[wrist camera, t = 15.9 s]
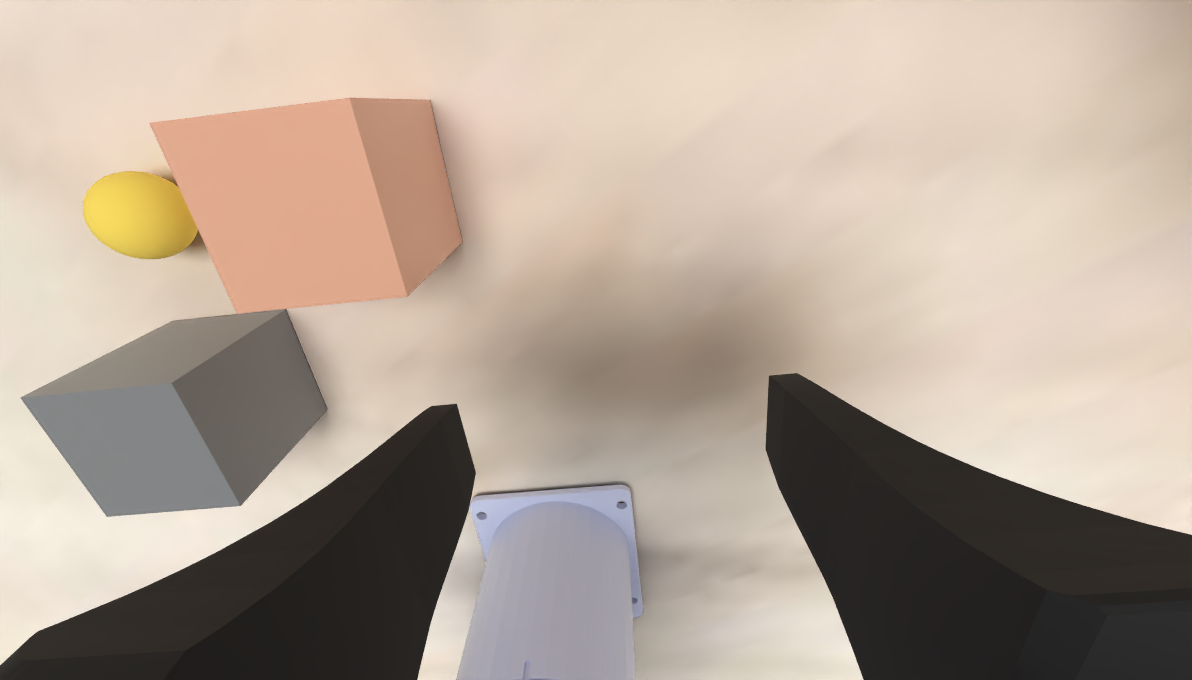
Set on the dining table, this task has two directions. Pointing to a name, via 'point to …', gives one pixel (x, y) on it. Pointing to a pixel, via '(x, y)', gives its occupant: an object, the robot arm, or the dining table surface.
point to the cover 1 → (316, 199)
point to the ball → (139, 215)
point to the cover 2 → (183, 413)
